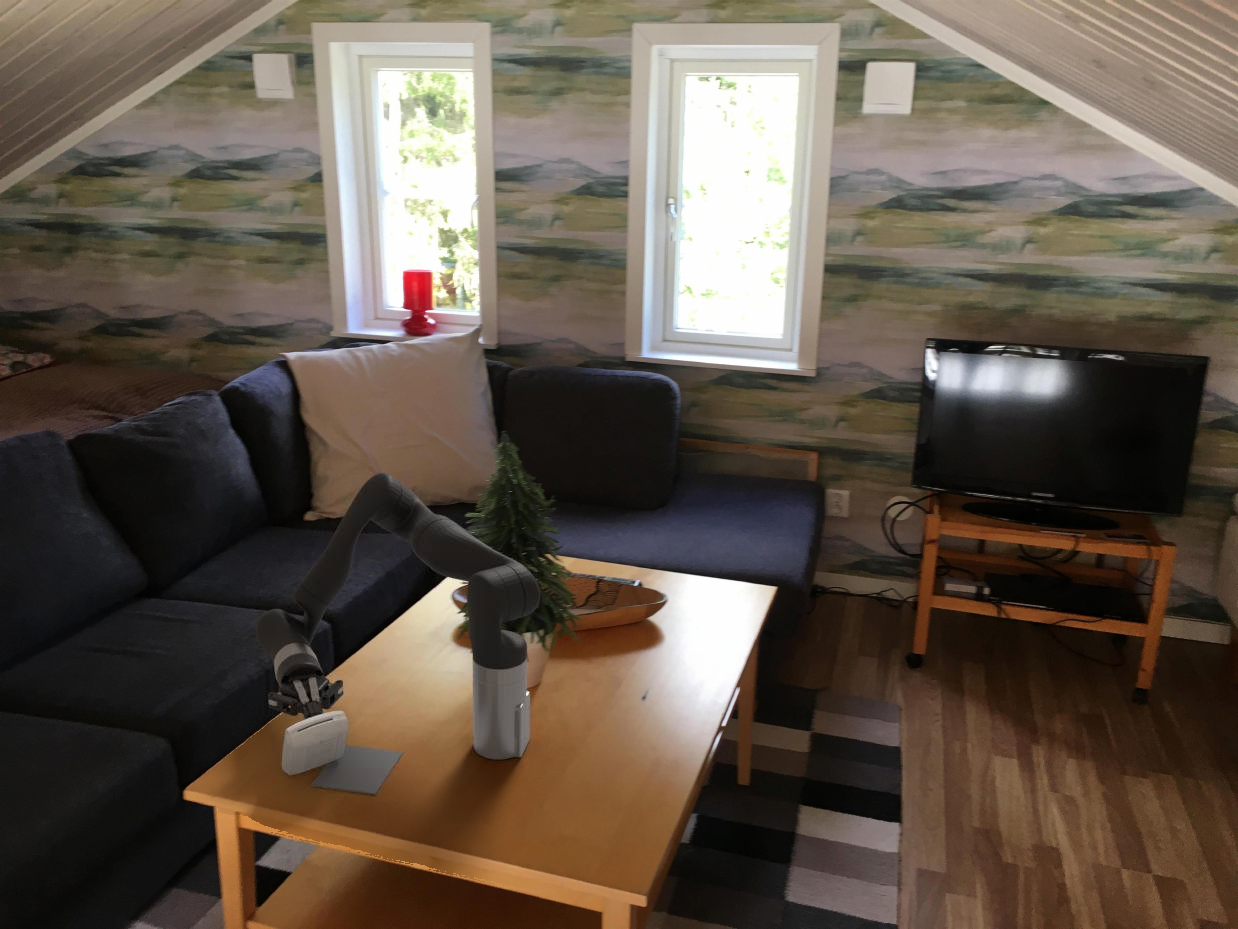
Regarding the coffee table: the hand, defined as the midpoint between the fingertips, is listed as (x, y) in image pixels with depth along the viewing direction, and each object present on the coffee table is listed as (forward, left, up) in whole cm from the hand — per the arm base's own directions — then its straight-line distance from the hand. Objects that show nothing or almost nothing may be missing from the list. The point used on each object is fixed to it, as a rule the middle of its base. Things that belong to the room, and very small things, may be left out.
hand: (315, 719), depth 167 cm
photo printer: (+2, -2, -9) cm, 9 cm away
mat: (-6, -2, -10) cm, 12 cm away
